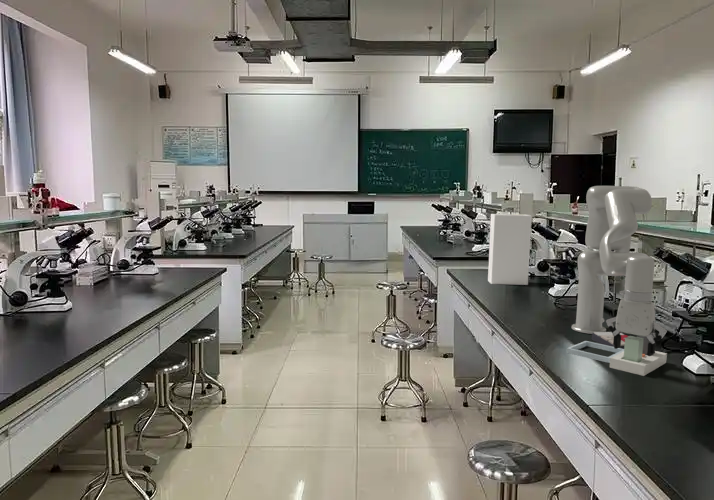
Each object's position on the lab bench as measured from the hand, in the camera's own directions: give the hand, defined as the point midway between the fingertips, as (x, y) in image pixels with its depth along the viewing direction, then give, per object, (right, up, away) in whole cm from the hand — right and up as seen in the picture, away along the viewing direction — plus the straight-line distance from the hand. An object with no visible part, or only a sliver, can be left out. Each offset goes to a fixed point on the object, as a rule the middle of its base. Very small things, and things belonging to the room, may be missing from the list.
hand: (633, 351), depth 171 cm
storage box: (+4, +12, +156) cm, 156 cm away
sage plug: (0, -5, +1) cm, 5 cm away
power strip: (+4, -6, +4) cm, 8 cm away
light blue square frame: (-5, -4, +16) cm, 17 cm away
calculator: (+8, -4, +27) cm, 28 cm away
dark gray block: (+7, -5, +8) cm, 11 cm away
